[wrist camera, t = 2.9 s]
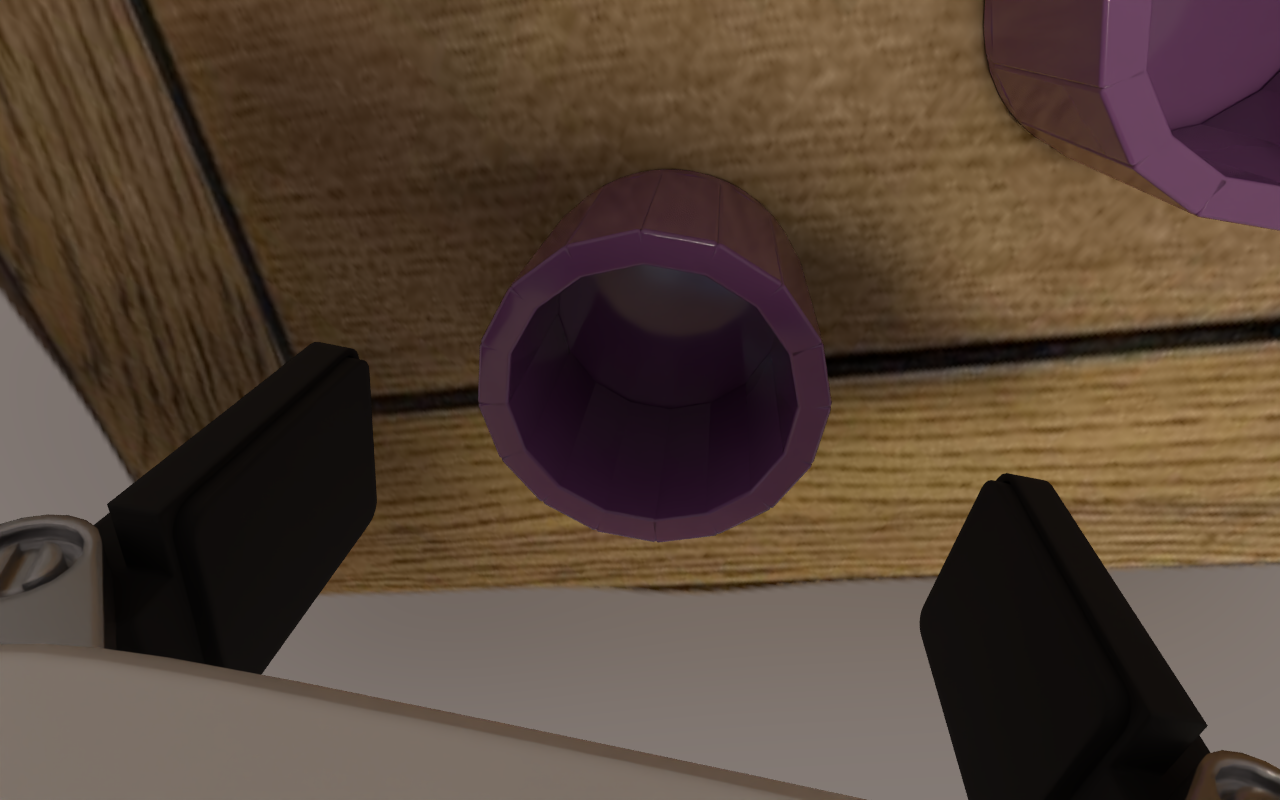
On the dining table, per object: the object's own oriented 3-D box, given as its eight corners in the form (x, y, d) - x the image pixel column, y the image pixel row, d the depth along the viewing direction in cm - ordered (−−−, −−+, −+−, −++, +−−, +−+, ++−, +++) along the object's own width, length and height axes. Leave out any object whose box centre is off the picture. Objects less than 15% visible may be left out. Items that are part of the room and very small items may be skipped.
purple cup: (531, 392, 19) (473, 509, 14) (551, 145, 16) (482, 200, 11) (767, 435, 19) (779, 566, 14) (836, 195, 15) (878, 271, 11)
